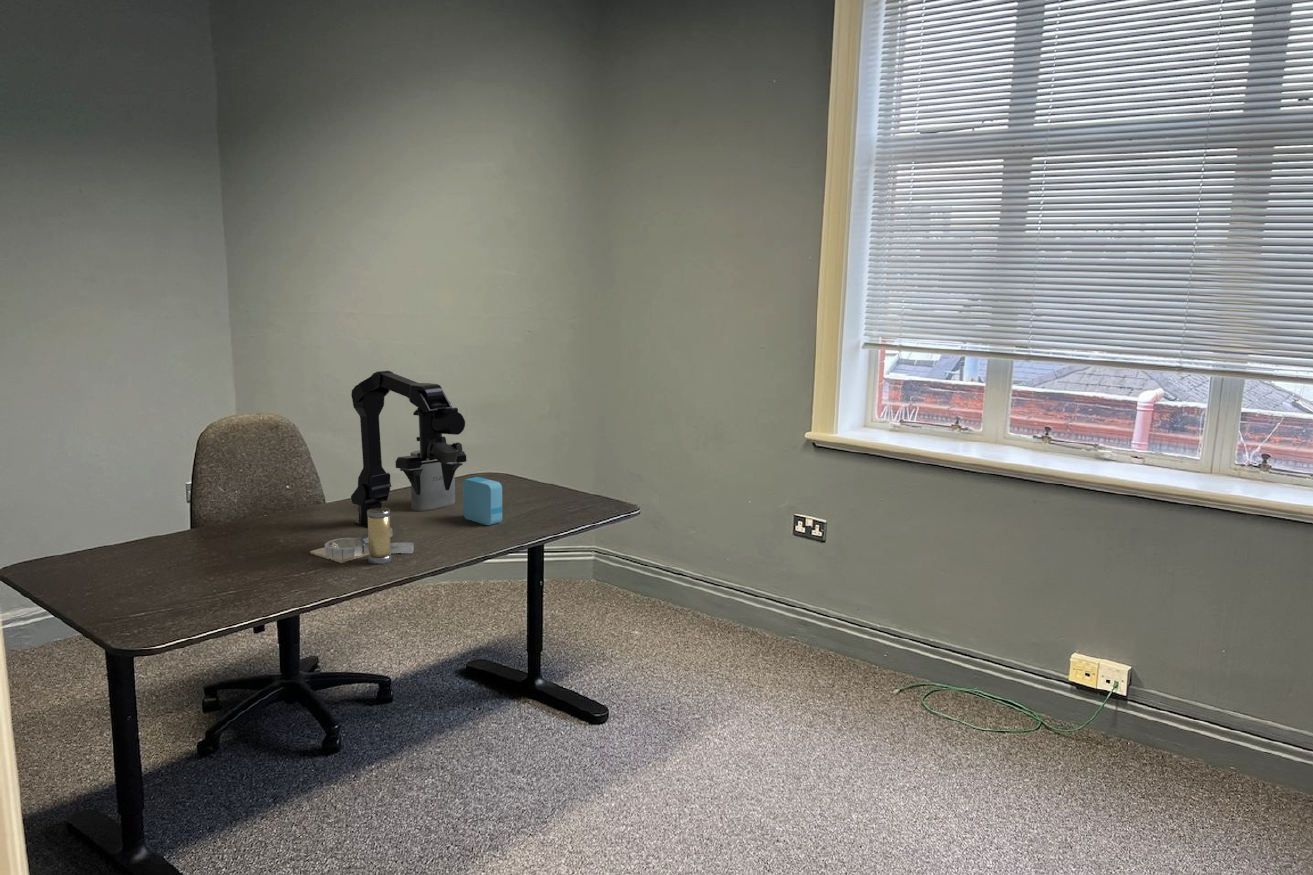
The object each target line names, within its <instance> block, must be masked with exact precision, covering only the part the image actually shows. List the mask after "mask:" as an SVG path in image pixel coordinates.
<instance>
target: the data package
mask: <svg viewBox="0 0 1313 875" xmlns="http://www.w3.org/2000/svg"><path fill="white" fill-rule="evenodd" d="M462 503H463V504H462V506H463V507H462V509H463V511H462V512H463V513H462V514H463V516H464V517H463V518H465V519H466V520H467V521H471V520H472V522H474V521H475V522H476V523H478V524H481V525H486V526H491V525H495V524H499V523H501V522H502V520H503V486H502V484H501V483H500V482H499V481H496V480H491V479H488V478H484V477H479V476H474V477H471V478H465V479H463V481H462Z"/></svg>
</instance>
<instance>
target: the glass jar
mask: <svg viewBox="0 0 1313 875" xmlns="http://www.w3.org/2000/svg"><path fill="white" fill-rule="evenodd" d="M367 516H368V527H367V534H368V541H369V555H368V563H369V564H371V565H385V564H389V563H390V562H392V554H391V543H392V542H391V537H390V528H391V519H390V518H391V508H388V507H383V506H382V507H379V508H371V509H369V510H367Z"/></svg>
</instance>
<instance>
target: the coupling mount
mask: <svg viewBox="0 0 1313 875" xmlns="http://www.w3.org/2000/svg"><path fill="white" fill-rule="evenodd" d="M393 535H394V534H393V528H392V527H390V538H392V537H393ZM390 543H391V555H392V554H396V553H397V555H398V553H401V554H413V552H414V542H390ZM310 553H311V554H310ZM309 554H310V555H313V554H314V556H317V557H320V558H323V559H327V560H329V559H331V560H330V561H333V560H334V561H333V562H337V563H340V564H343V563H346V562H350V561H352V560H355V559H360V558H363V557H366V556H369V541H368V533H366V534H364V535H361V536H359V537H340V538H334V539H331V540H328V541H327V542H326V543H324V547H320V548H317V549H313V550H310V551H309ZM349 560H350V561H349Z"/></svg>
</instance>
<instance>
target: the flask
mask: <svg viewBox="0 0 1313 875" xmlns="http://www.w3.org/2000/svg"><path fill="white" fill-rule="evenodd" d="M417 453H420V449H419V450H413V451H412V452H410V456H415V457H417ZM419 469H423V470H422V472H421V474H420V485H421V492H420V495H417V494H416V492H415V490H414V488H413V487H412V485H411V484H410V491H411V492H410V494H411V497H410V498H411V510H412V511H413V510H414V512H426V511H427V512H429V511H433V509H434V510H437V508H439V509H443V508H446V507H450V506H452V505H454V504H455V503H456V476H455V475H456V472H455V473H454V476H453V479H452V482H451V486H450V489H449V490H445V486H444V480H443V474H442V467H441V463H440V462H437V463H429V464H422V465H421V467H420V468H419ZM442 507H443V508H442ZM428 510H429V511H428Z"/></svg>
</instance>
